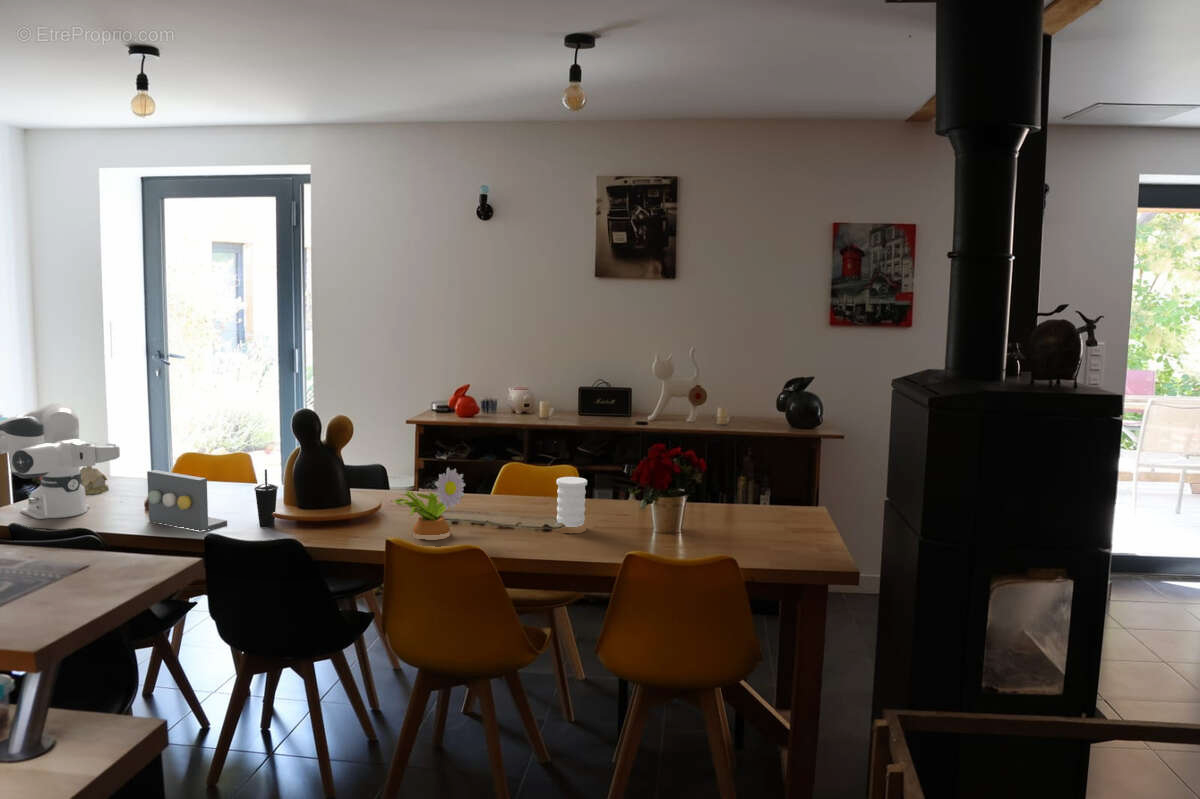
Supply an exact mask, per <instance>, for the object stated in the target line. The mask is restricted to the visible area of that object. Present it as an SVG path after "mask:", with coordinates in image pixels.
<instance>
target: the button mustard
mask: <svg viewBox="0 0 1200 799" xmlns="http://www.w3.org/2000/svg"><path fill="white" fill-rule="evenodd" d="M177 504H178V507H179V508H180V509H187V508H190V507H191V504H192V501H191V498H190V497H189V496H187V495H185V496H181V497H179V498H178V500H177Z"/></svg>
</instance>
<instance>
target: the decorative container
mask: <svg viewBox="0 0 1200 799" xmlns="http://www.w3.org/2000/svg"><path fill="white" fill-rule="evenodd" d="M556 485H557V490H556V492H557V497H556V498H557V499H556V501H557V506H556V512H557V515H556V521H557V522H558V523H563V524H564V525H565V526H566V527H578V526H582V525H583V524H585V521H586V516H585V512H586V507H585V504H586V493H587V491H586V486H588V480H587V479H586V478H583V477H578V476H563V477H562V476H561V477H559V478H556ZM557 522H556V523H557Z"/></svg>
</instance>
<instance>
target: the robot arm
mask: <svg viewBox="0 0 1200 799" xmlns="http://www.w3.org/2000/svg"><path fill="white" fill-rule="evenodd" d="M120 451H121V450H120V447H119V446H117V445H116V444H115V443H97V442H92V441H84V440H80V420H79V417H78V415H77V413H76V412H75V411H74V410H73V408H72V407H70V406H69V405H67V404H65V403H63V402H52V403H49V404H47V405H42V406H40V407H37V408H34V409H32V410H28V411H26V412H23V413H21V414H18V415H15V416H11V417H8V418H4V419H0V455H2V454H6V453H7V454H8V462H9V467H10V470H11V473H12V474H14V475H15V476H16V477H19V478H20V479H33V478H38V477H39V480H40V485H39V486H38V487H37V488H36V489H34V491H32V492H31V493H30V494H29V495H28V503H27V504H28V506H25V507H23V508H21V509H20V512H21V513H23V514H24V515H27V516H30V517H32V518H34V519H37V520H41V519H43V520H44V519H59V518H68V517H74V516H79V515H83V514H85V513H86V512H88V509H90V504H88V502H87V496H86V494H85V489H84V486H82V485H81V482H82V476H81V473H80V470H81V468H80V467H87V466H92V467H94V466H96V464H100V463H105V462H109V461H113V460H114V461H115V460H117V459H118V458H120V456H121V455H120V454H121V452H120Z"/></svg>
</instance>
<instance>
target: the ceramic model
mask: <svg viewBox="0 0 1200 799" xmlns="http://www.w3.org/2000/svg"><path fill="white" fill-rule="evenodd" d="M80 473H81V476H82V482H81V485H82V486H84V489H85V495H94V494H95V495H96V494H100V493H104V492H107V491H109V490H110V488H109V485H107V483H106V481H108V478H107V476H106V475H105V474H104V473H102V472H101V471H100V470H99V469H98V468H95V467H93V466H82V468H80Z"/></svg>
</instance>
